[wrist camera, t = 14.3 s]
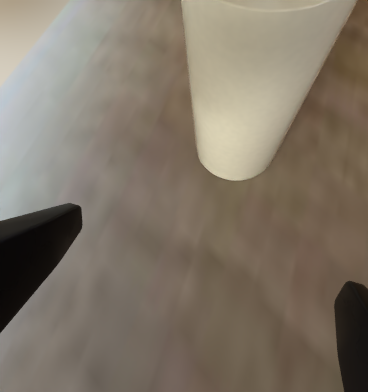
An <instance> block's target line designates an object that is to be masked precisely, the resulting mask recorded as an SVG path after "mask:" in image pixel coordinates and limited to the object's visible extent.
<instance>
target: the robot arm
mask: <svg viewBox="0 0 368 392" xmlns="http://www.w3.org/2000/svg"><path fill="white" fill-rule="evenodd" d="M81 229H82V211H81V207H80V206H79V205H75V204H72V203H67V204H63V205H59V206H56V207H52V208H48V209H44V210H40V211H37V212H33V213H29V214H25V215H22V216H18V217H14V218H10V219H6V220H3V221H0V333H1V332H2V330H3V329H4V328H5V327H6V326H7V325H8V323H9V322H10V321H11V320H12V319H13V317H14V316H15V315H16V314H17V313H18V311H19V310H20V309H21V308H22V307H23V305H24V304H25V303H26V302H27V301H28V299H29V298H30V297H31V296H32V295H33V294H34V292H35V291H36V290H37V289H38V288H39V286H40V285H41V284H42V283H43V282H44V280H45V279H46V278H47V277H48V276H49V274H50V273H51V272H52V271H53V270H54V268H55V267H56V266H57V265H58V263H59V262H60V261H61V259H62V258H63V256H64V255H65V253H66V252H67V250H68V249H69V247H70V246H71V244H72V243H73V241H74V240H75V238H76V237H77V235H78V234H79V233H80V231H81ZM334 309H335V324H336V339H337V352H338V359H339V365H340V371H341V376H342V382H343V387H344V392H368V289H367V288H366V287H365V286H364V285H362V284H359V283H356V282H352V281H347V282H346V283H345V284H344V286H343V288H342V289H341V291H340V293H339V294H338V296H337V297H336V300H335V304H334Z"/></svg>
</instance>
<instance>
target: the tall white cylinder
mask: <svg viewBox="0 0 368 392" xmlns="http://www.w3.org/2000/svg"><path fill="white" fill-rule="evenodd" d="M180 1H181V11H182V20H183V29H184V39H185V48H186V58H187V67H188V76H189V86H190V95H191V105H192V114H193V123H194V133H195V142H196V150H197V154H198V157H199V159H200V161H201V163H202V164H203V165H204V167H205V168H206V169H207V170H209V171H210V172H211V173H213V174H214V175H216V176H218V177H220V178H223V179H227V180H236V181H238V180H246V179H250V178H253V177H255V176H257V175H259V174H260V173H262V172H263V171H264V170H265V169H267V167H268V166H269V165H270V164H271V162H272V161H273V159H274V157H275V155H276V153H277V151H278V149H279V148H280V146H281V144H282V142H283V140H284V138H285V136H286V134H287V133H288V131H289V129H290V127H291V125H292V123H293V121H294V120H295V118H296V116H297V114H298V112H299V110H300V108H301V106H302V105H303V103H304V101H305V99H306V97H307V95H308V93H309V92H310V90H311V88H312V86H313V84H314V82H315V80H316V78H317V77H318V75H319V73H320V71H321V69H322V67H323V65H324V64H325V62H326V60H327V58H328V56H329V54H330V52H331V50H332V49H333V47H334V45H335V43H336V41H337V39H338V37H339V36H340V34H341V32H342V30H343V28H344V26H345V24H346V22H347V21H348V19H349V17H350V15H351V13H352V11H353V9H354V8H355V6H356V4H357V2H358V0H180Z"/></svg>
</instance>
